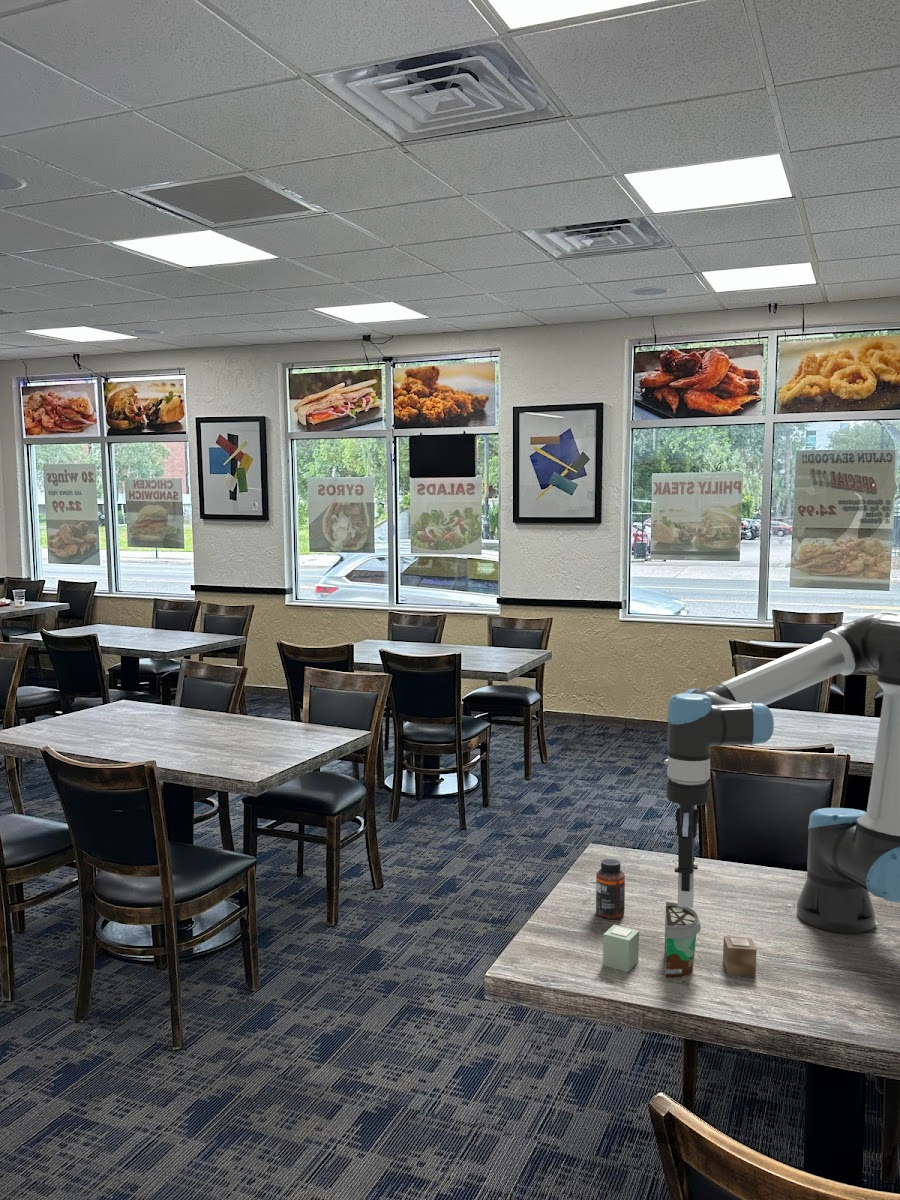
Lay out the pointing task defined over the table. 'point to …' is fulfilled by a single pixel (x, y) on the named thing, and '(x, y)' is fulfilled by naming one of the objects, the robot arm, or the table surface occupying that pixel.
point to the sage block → (621, 948)
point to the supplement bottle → (610, 890)
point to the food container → (680, 940)
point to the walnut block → (739, 956)
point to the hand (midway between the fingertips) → (685, 905)
